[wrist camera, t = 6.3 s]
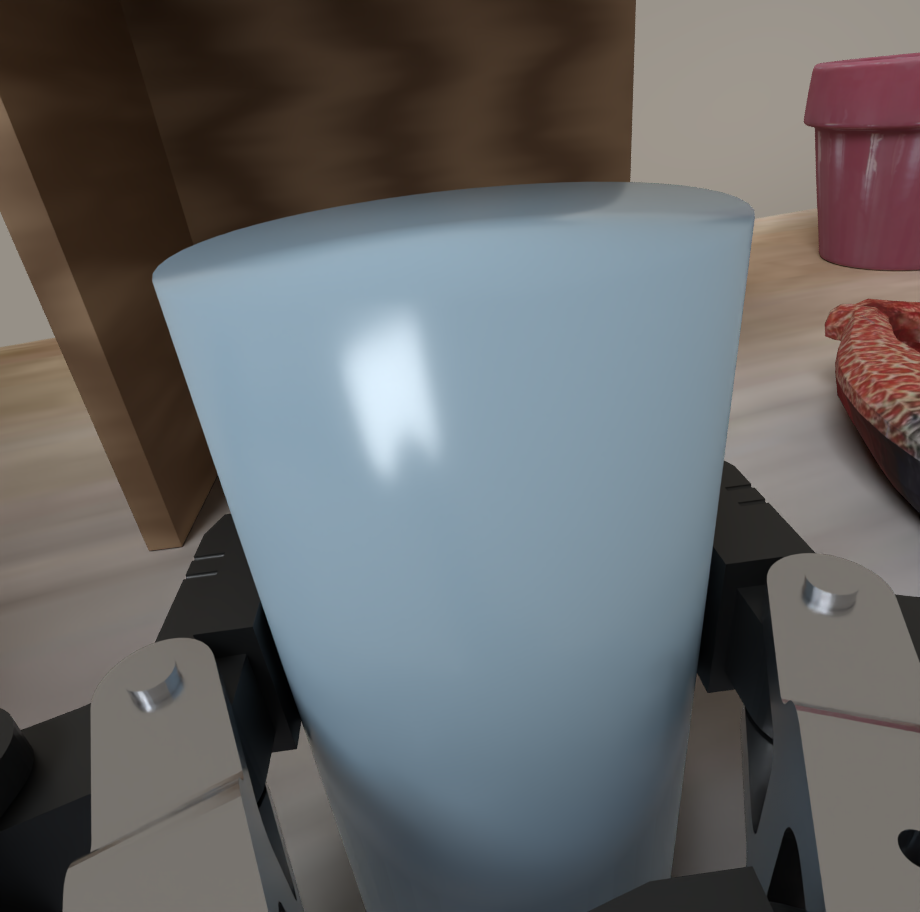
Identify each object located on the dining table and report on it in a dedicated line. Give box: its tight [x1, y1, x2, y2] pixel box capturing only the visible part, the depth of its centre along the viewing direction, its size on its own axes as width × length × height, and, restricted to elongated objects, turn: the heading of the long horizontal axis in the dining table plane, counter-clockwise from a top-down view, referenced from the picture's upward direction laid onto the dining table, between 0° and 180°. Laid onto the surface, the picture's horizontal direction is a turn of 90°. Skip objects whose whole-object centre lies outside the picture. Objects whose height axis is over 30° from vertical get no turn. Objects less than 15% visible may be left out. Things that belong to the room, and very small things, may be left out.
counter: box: [0, 0, 636, 551], centre depth 23 cm, size 21×12×20 cm, turn 95°
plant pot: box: [804, 53, 920, 271], centre depth 43 cm, size 14×14×13 cm
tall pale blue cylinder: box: [152, 182, 755, 912], centre depth 9 cm, size 6×6×12 cm
